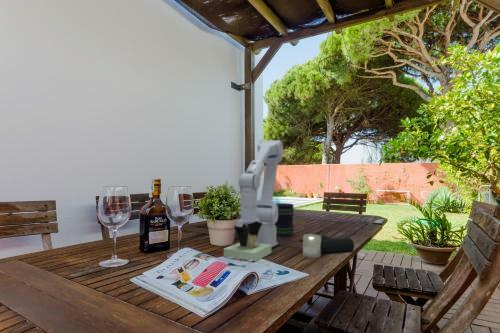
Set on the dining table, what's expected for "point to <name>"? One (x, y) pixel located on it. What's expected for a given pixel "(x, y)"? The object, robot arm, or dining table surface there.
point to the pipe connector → (336, 244)
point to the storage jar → (284, 220)
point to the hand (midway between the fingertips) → (248, 244)
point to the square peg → (250, 242)
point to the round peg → (311, 245)
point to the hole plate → (248, 251)
